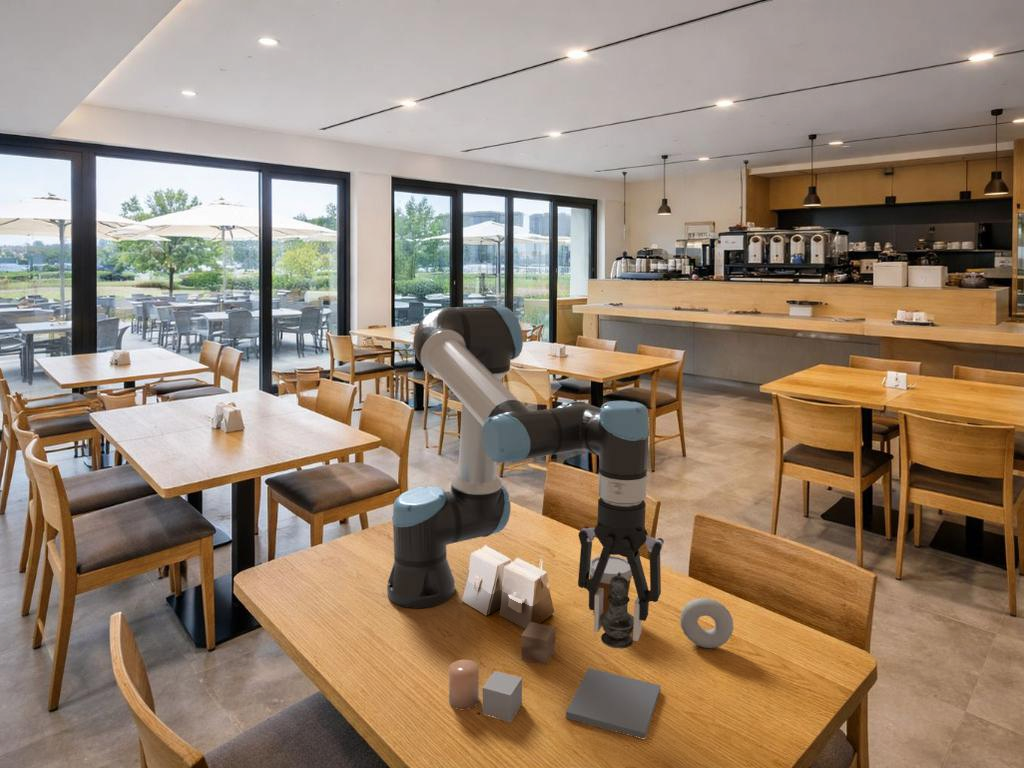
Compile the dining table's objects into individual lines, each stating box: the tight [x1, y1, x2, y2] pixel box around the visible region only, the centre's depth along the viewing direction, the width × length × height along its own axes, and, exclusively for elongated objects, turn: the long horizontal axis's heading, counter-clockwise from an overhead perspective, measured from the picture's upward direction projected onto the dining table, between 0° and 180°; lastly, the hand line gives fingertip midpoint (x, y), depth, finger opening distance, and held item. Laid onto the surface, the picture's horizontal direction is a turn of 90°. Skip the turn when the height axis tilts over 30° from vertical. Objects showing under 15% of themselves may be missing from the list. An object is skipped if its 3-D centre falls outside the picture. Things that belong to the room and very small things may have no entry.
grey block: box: [481, 670, 523, 723], centre depth 111 cm, size 5×5×5 cm
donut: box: [679, 597, 735, 649], centre depth 129 cm, size 10×4×10 cm, turn 70°
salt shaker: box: [600, 572, 634, 649], centre depth 109 cm, size 6×6×12 cm
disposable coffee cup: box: [589, 555, 633, 613], centre depth 139 cm, size 10×10×12 cm
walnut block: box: [520, 621, 556, 666], centre depth 126 cm, size 5×5×5 cm
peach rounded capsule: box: [448, 659, 480, 710], centre depth 113 cm, size 5×5×6 cm
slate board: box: [565, 667, 661, 739], centre depth 112 cm, size 13×13×1 cm
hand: (617, 631), depth 110 cm, fingers closed on salt shaker, 6 cm apart
